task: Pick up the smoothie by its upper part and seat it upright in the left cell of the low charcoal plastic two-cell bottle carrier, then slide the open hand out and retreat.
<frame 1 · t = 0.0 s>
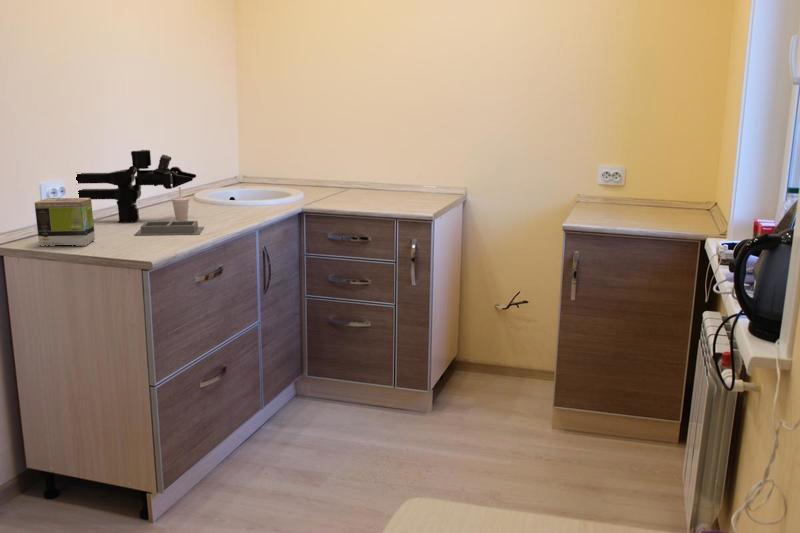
hand: (194, 177, 299), 17 cm above the worktop, tool horizontal, fingers open, 9 cm apart
smoothie: (181, 224, 294), on the worktop
bottle carrier: (170, 231, 281), on the worktop
tea box: (67, 244, 260), on the worktop
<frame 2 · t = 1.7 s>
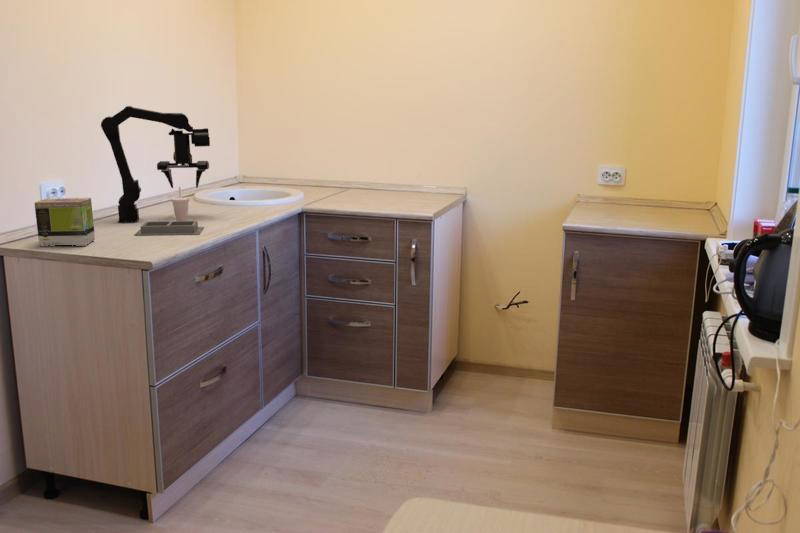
hand: (184, 187, 303), 12 cm above the worktop, tool pointing down, fingers open, 9 cm apart
nothing on the worktop moved.
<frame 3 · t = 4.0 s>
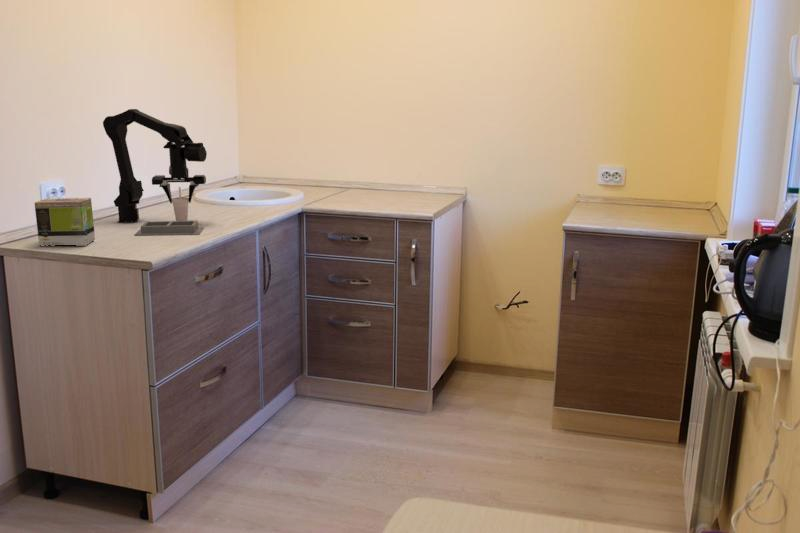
hand: (180, 203, 293), 8 cm above the worktop, tool pointing down, fingers closed on smoothie, 6 cm apart
smoothie: (181, 224, 294), on the worktop, touching gripper
everything else where it was.
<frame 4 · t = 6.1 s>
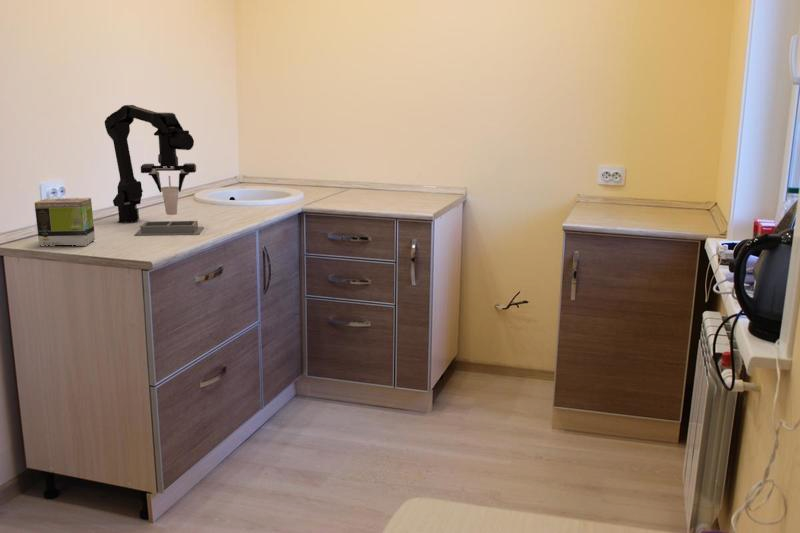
hand: (170, 192, 286), 13 cm above the worktop, tool pointing down, fingers closed on smoothie, 6 cm apart
smoothie: (171, 214, 288), point 5 cm above the worktop, touching gripper
everything else where it was.
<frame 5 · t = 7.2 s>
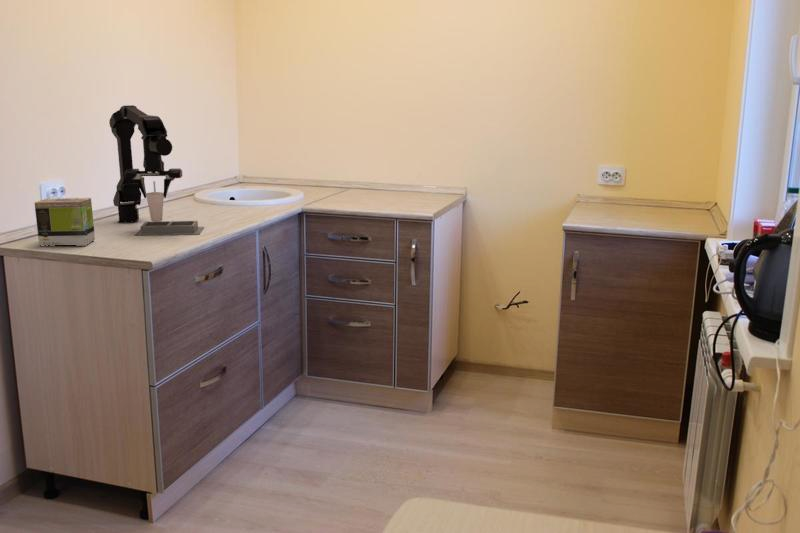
hand: (155, 197, 277), 12 cm above the worktop, tool pointing down, fingers closed on smoothie, 6 cm apart
smoothie: (156, 221, 279), point 4 cm above the worktop, touching gripper
everything else where it was.
when the fingers open (10 cm above the worktop, at t = 8.2 s): smoothie drops 1 cm, resting on bottle carrier.
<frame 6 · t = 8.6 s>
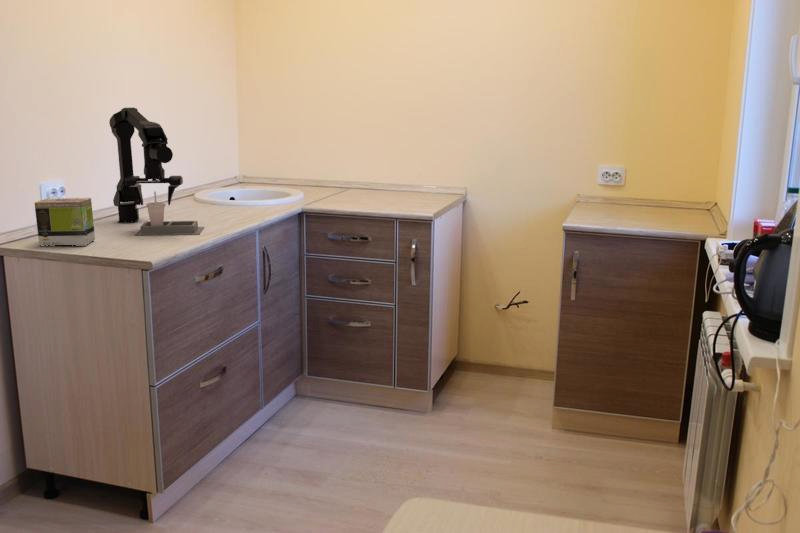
hand: (155, 205, 278), 10 cm above the worktop, tool pointing down, fingers open, 9 cm apart
smoothie: (157, 231, 280), resting on bottle carrier
everything else where it was.
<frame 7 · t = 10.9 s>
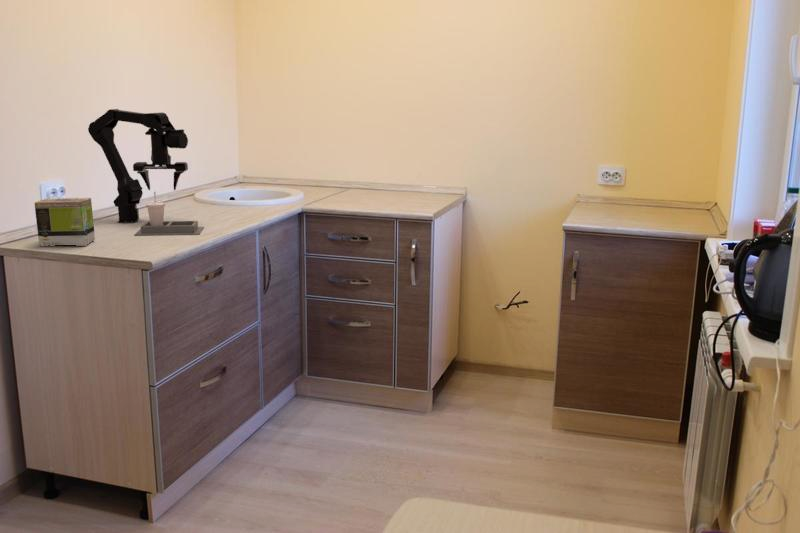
hand: (162, 189, 292), 13 cm above the worktop, tool pointing down, fingers open, 9 cm apart
nothing on the worktop moved.
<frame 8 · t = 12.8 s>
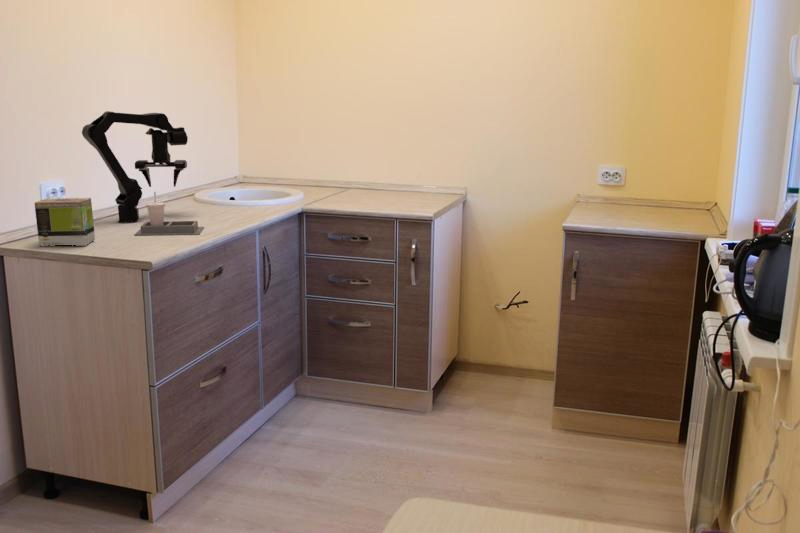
hand: (162, 186, 306), 12 cm above the worktop, tool pointing down, fingers open, 9 cm apart
nothing on the worktop moved.
at the end: smoothie 0.1 cm from the target spot on the bottle carrier, point 0.2 cm above the bottle carrier's base; smoothie tilted 0°; the gripper is holding nothing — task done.
